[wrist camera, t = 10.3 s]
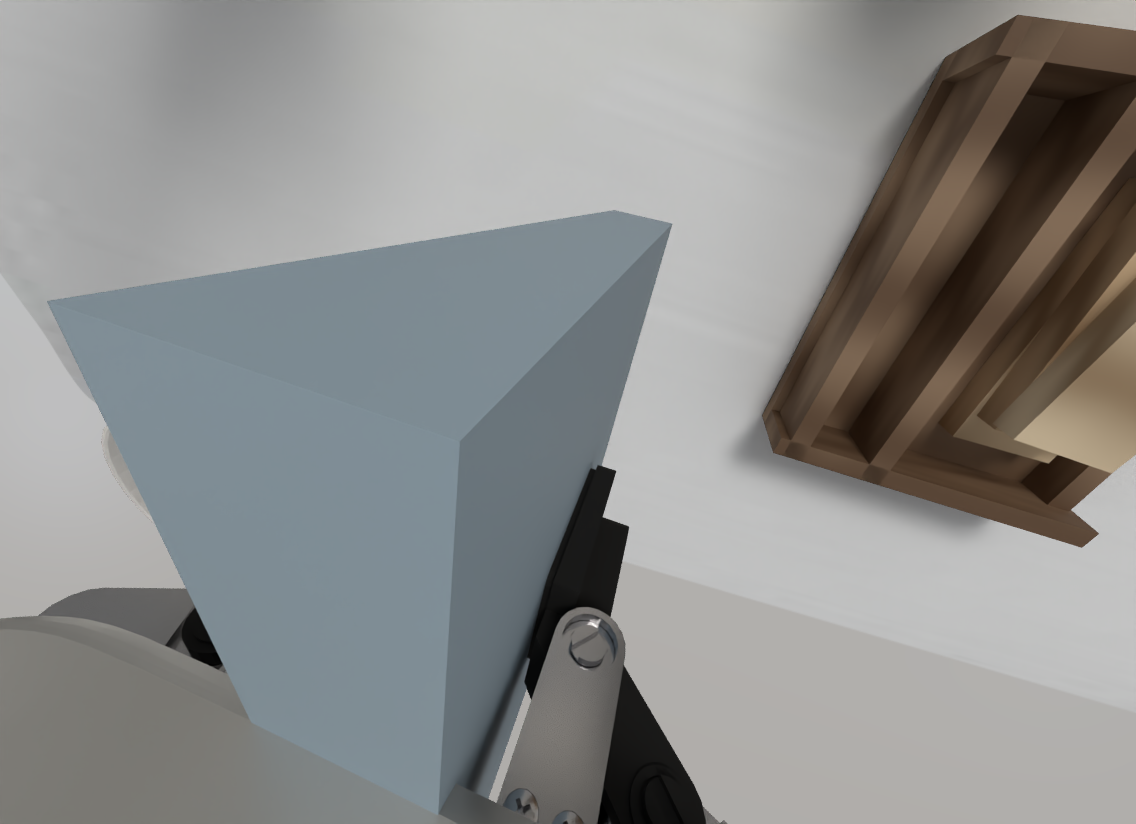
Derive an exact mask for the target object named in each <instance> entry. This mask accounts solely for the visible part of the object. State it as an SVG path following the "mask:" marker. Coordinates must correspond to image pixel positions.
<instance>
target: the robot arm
mask: <svg viewBox="0 0 1136 824" xmlns="http://www.w3.org/2000/svg"><path fill="white" fill-rule="evenodd" d="M615 474H616V471H615V470H612V469H609V468H606V467H603V466H600V465H597V468H596V470H595V469H592V468H591V469H590V471H589V473H588V476H587V478H586V481H585V483H584V486H583V488H582V491H581V493H580V496H579V498H578V501H577V503H576V506H575V508H574V511H573V513H572V516H571V518H570V521H569V524H568V526H567V529H566V531H565V534H564V536H563V539H562V541H561V544H560V546H559V549H558V551H557V554H556V556H555V559H554V561H553V564H552V566H551V569H550V571H549V574H548V577H547V580H546V584H545V587H544V591H543V595H542V599H541V603H540V607H539V611H538V615H537V619H536V623H535V627H534V631H533V635H532V639H531V643H530V647H529V651H528V655H527V658H529V659H530V661H529V665H528V669H527V673H526V676H525V680H524V683H525V685H526V688H527V690H528V693H529V695H530V698H531V703H530V706H529V709H528V712H527V715H526V718H525V721H524V724H523V726H522V729H521V732H520V736H519V738H518V741H517V744H516V747H515V750H514V753H513V756H512V759H511V762H510V765H509V768H508V771H507V774H506V777H505V780H504V783H503V785H502V788H501V792H500V795H499V797H498V800H497V803H495V802H493V801H491V800H489V799H487V798H485V797H483V796H481V795H479V794H477V793H475V792H473V791H471V790H468V789H466V788H464V787H462V786H460V785H458V784H455V786H454V788H453V789H452V791H451V793H450V795H449V796H448V798H447V800H446V802H445V803H444V805H443V807H442V809H441V810H440V812H439V814H438V815H436V814H434V813H432V812H430V811H428V810H426V809H424V808H422V807H420V806H418V805H416V804H414V803H412V802H410V801H408V800H406V799H404V798H402V797H400V796H398V795H396V794H394V793H392V792H390V791H388V790H386V789H384V788H382V787H380V786H378V785H376V784H374V783H372V782H370V781H368V780H366V779H364V778H362V777H360V776H358V775H356V774H354V773H352V772H350V771H348V770H346V769H344V768H342V767H340V766H338V765H336V764H334V763H332V762H330V761H328V760H326V759H324V758H322V757H320V756H318V755H316V754H314V753H312V752H310V751H308V750H306V749H304V748H302V747H300V746H298V745H296V744H294V743H292V742H290V741H287V740H285V739H283V738H281V737H279V736H277V735H275V734H273V733H271V732H269V731H267V730H265V729H263V728H261V727H259V726H257V725H255V724H253V723H251V721H250V719H249V717H248V715H247V713H246V711H245V709H244V706H243V704H242V702H241V700H240V698H239V696H238V694H237V692H236V690H235V688H234V686H233V684H232V682H231V680H230V678H229V676H228V673H227V671H226V669H225V667H224V665H223V663H222V661H221V659H220V657H219V655H218V653H217V651H216V649H215V647H214V645H213V643H212V640H211V638H210V636H209V634H208V632H207V630H206V628H205V626H204V624H203V622H202V620H201V618H200V616H199V614H198V612H197V610H196V607H195V605H194V603H193V601H192V599H191V597H190V595H189V593H188V591H187V589H166V588H165V589H164V588H161V589H160V588H158V589H157V588H99V589H90V590H86V591H83V592H80V593H77V594H74V595H71V596H68V597H67V598H65V599H63V600H61V601H59V602H57V603H55V604H53V605H51V606H50V607H49V608H47V609H46V610H45V611H44V612H42V613H41V614H40V615H39V616H28V617H12V618H2V619H0V824H727V823H726V822H725V821H722V822H721V823H719V822H718V821H717V820H716V819H715V818H714V817H713V816H712V815H711V814H710V813H709V812H708V811H707V810H706V809H705V808H704V807H703V806H702V802H701V799H700V797H699V795H698V793H697V791H696V788H695V786H694V784H693V783H692V781H691V779H690V777H689V776H688V774H687V772H686V771H685V769H684V767H683V765H682V764H681V762H680V760H679V759H678V757H677V755H676V754H675V752H674V750H673V748H672V747H671V745H670V743H669V742H668V740H667V738H666V736H665V735H664V733H663V731H662V730H661V728H660V726H659V725H658V723H657V721H656V719H655V718H654V716H653V714H652V713H651V711H650V709H649V708H648V706H647V704H646V702H645V701H644V699H643V697H642V696H641V694H640V692H639V690H638V689H637V687H636V685H635V684H634V682H633V680H632V678H631V677H630V675H629V674H628V672H627V670H626V668H625V667H624V659H625V641H624V638H623V634H622V632H621V630H620V629H619V627H618V625H617V624H616V622H615V621H614V620H613V619H612V618H610V617H611V612H612V607H613V602H614V598H615V593H616V588H617V583H618V579H619V574H620V569H621V564H622V560H623V555H624V550H625V545H626V541H627V536H628V531H629V526H626V525H623V524H620V523H617V522H615V521H612V520H609V519H606V518H603V514H604V510H605V507H606V504H607V500H608V497H609V494H610V490H611V487H612V484H613V480H614V477H615Z"/></svg>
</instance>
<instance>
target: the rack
mask: <svg viewBox="0 0 1136 824" xmlns="http://www.w3.org/2000/svg"><path fill="white" fill-rule="evenodd" d="M1129 178H1136V31H1133V30H1126V29H1118V28H1111V27H1104V26H1096V25H1089V24H1082V23H1074V22H1067V21H1059V20H1052V19H1045V18H1037V17H1030V16H1022V15H1017V16H1015V17H1013V18H1012V19H1010V20H1008V21H1007V22H1005V23H1003V24H1001V25H1000V26H998V27H996V28H995V29H993V30H991V31H989V32H988V33H986V34H984V35H983V36H981V37H979V38H977V39H976V40H974V41H972V42H971V43H969V44H967V45H965V46H964V47H962V48H960V49H959V50H957V51H955V52H953V53H952V54H950V55H948V56H947V57H945V59H944V61H943V63H942V65H941V67H940V69H939V71H938V73H937V75H936V77H935V79H934V81H933V83H932V85H931V87H930V89H929V91H928V93H927V95H926V96H925V98H924V100H923V102H922V104H921V106H920V108H919V110H918V112H917V114H916V116H915V118H914V120H913V122H912V124H911V126H910V128H909V130H908V132H907V134H906V136H905V138H904V139H903V141H902V143H901V145H900V147H899V149H898V151H897V153H896V155H895V157H894V159H893V161H892V163H891V165H890V167H889V169H888V171H887V173H886V175H885V177H884V179H883V181H882V182H881V184H880V186H879V188H878V190H877V192H876V194H875V196H874V198H873V200H872V202H871V204H870V206H869V208H868V210H867V212H866V214H865V216H864V218H863V220H862V222H861V224H860V225H859V227H858V229H857V231H856V233H855V235H854V237H853V239H852V241H851V243H850V245H849V247H848V249H847V251H846V253H845V255H844V257H843V259H842V261H841V263H840V265H839V267H838V268H837V270H836V272H835V274H834V276H833V278H832V280H831V282H830V284H829V286H828V288H827V290H826V292H825V294H824V296H823V298H822V300H821V302H820V304H819V306H818V308H817V310H816V311H815V313H814V315H813V317H812V319H811V321H810V323H809V325H808V327H807V329H806V331H805V333H804V335H803V337H802V339H801V341H800V343H799V345H798V347H797V349H796V351H795V353H794V354H793V356H792V358H791V360H790V362H789V364H788V366H787V368H786V370H785V372H784V374H783V376H782V378H781V380H780V382H779V384H778V386H777V388H776V390H775V392H774V394H773V396H772V397H771V399H770V401H769V403H768V405H767V407H766V409H765V411H764V413H763V415H762V417H763V420H764V423H765V427H766V430H767V434H768V437H769V440H770V444H771V447H772V450H773V453H776V454H779V455H782V456H786V457H789V458H792V459H795V460H799V461H802V462H805V463H808V464H812V465H815V466H818V467H821V468H825V469H828V470H831V471H834V472H838V473H841V474H844V475H847V476H851V477H854V478H857V479H860V480H864V481H867V482H870V483H873V484H877V485H880V486H883V487H886V488H890V489H893V490H896V491H899V492H903V493H906V494H909V495H912V496H916V497H919V498H922V499H925V500H929V501H932V502H935V503H938V504H942V505H945V506H948V507H952V508H955V509H958V510H961V511H965V512H968V513H971V514H974V515H978V516H981V517H984V518H987V519H991V520H994V521H997V522H1000V523H1004V524H1007V525H1010V526H1013V527H1017V528H1020V529H1023V530H1026V531H1030V532H1033V533H1036V534H1039V535H1043V536H1046V537H1049V538H1052V539H1056V540H1059V541H1062V542H1065V543H1069V544H1072V545H1075V546H1078V547H1083V546H1085V545H1086V544H1087V543H1088V542H1089V541H1091V540H1092V539H1093V538H1094V537H1096V536H1097V535H1098V534H1099V533H1098V532H1097V531H1095V530H1094V529H1093V528H1092V527H1091V526H1089V525H1088V524H1087V523H1086V522H1085V521H1083V520H1082V519H1081V518H1080V517H1079V516H1077V515H1076V514H1075V513H1074V512H1072V511H1071V509H1072V508H1073V507H1075V506H1076V505H1077V504H1078V503H1079V502H1080V501H1081V500H1082V499H1084V498H1085V497H1086V496H1087V495H1088V494H1089V493H1090V492H1091V491H1093V490H1094V489H1095V488H1096V487H1097V486H1098V485H1099V484H1101V483H1102V482H1103V481H1104V480H1105V479H1106V478H1107V477H1108V476H1110V475H1111V474H1112V473H1109V472H1106V471H1103V470H1100V469H1097V468H1095V467H1092V466H1089V465H1086V464H1083V463H1080V462H1077V461H1074V460H1071V459H1069V458H1066V457H1063V456H1060V455H1057V456H1056V457H1055V458H1054V459H1053V460H1052V461H1051V462H1050V463H1045V462H1042V461H1038V460H1035V459H1031V458H1027V457H1024V456H1020V455H1017V454H1013V453H1010V452H1006V451H1003V450H999V449H996V448H992V447H989V446H985V445H982V444H978V443H974V442H971V441H967V440H964V439H960V438H957V437H953V436H952V435H951V434H950V433H948V432H947V431H946V430H945V429H944V428H943V427H942V426H941V425H940V424H939V423H938V422H939V421H940V420H941V419H942V417H943V416H944V415H945V414H946V412H947V411H948V410H949V408H950V407H951V406H952V405H953V403H954V402H955V401H956V399H957V398H958V397H959V396H960V394H961V393H962V392H963V390H964V389H965V388H966V387H967V385H968V384H969V383H970V382H971V380H972V379H973V378H974V376H975V375H976V374H977V373H978V371H979V370H980V369H981V367H982V366H983V365H984V364H985V362H986V361H987V360H988V359H989V357H990V356H991V355H992V353H993V352H994V351H995V350H996V348H997V347H998V346H999V344H1000V343H1001V342H1002V341H1003V339H1004V338H1005V337H1006V335H1007V334H1008V333H1009V332H1010V330H1011V329H1012V328H1013V327H1014V325H1015V324H1016V323H1017V321H1018V320H1019V319H1020V318H1021V316H1022V315H1023V314H1024V312H1025V311H1026V310H1027V309H1028V307H1029V306H1030V305H1031V304H1032V302H1033V301H1034V300H1035V298H1036V297H1037V296H1038V295H1039V293H1040V292H1041V291H1042V289H1043V288H1044V287H1045V286H1046V284H1047V283H1048V282H1049V280H1050V279H1051V278H1052V277H1053V275H1054V274H1055V273H1056V272H1057V270H1058V269H1059V268H1060V266H1061V265H1062V264H1063V263H1064V261H1065V260H1066V259H1067V257H1068V256H1069V255H1070V254H1071V252H1072V251H1073V250H1074V248H1075V247H1076V246H1077V245H1078V243H1079V242H1080V241H1081V240H1082V238H1083V237H1084V236H1085V234H1086V233H1087V232H1088V231H1089V229H1090V228H1091V227H1092V225H1093V224H1094V223H1095V222H1096V220H1097V219H1098V218H1099V217H1100V215H1101V214H1102V213H1103V211H1104V210H1105V209H1106V208H1107V206H1108V205H1109V204H1110V202H1111V201H1112V200H1113V199H1114V197H1115V196H1116V195H1117V193H1118V192H1119V191H1120V190H1121V188H1122V187H1123V186H1124V185H1125V183H1126V182H1127V181H1128V179H1129Z"/></svg>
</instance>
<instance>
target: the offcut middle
mask: <svg viewBox="0 0 1136 824" xmlns="http://www.w3.org/2000/svg"><path fill="white" fill-rule="evenodd" d="M1135 278H1136V203H1135V205H1134V206H1133V207H1132V209H1131V210H1130V211H1129V213H1128V214H1127V215H1126V217H1125V218H1124V219H1123V221H1122V222H1121V223H1120V225H1119V226H1118V227H1117V229H1116V230H1115V231H1114V233H1113V234H1112V235H1111V237H1110V238H1109V239H1108V241H1107V242H1106V243H1105V245H1104V246H1103V247H1102V249H1101V250H1100V251H1099V253H1098V254H1097V255H1096V257H1095V258H1094V259H1093V261H1092V262H1091V263H1090V265H1089V266H1088V267H1087V269H1086V270H1085V271H1084V273H1083V274H1082V275H1081V277H1080V278H1079V279H1078V281H1077V282H1076V283H1075V285H1074V286H1073V287H1072V289H1071V290H1070V291H1069V293H1068V294H1067V295H1066V297H1065V298H1064V299H1063V301H1062V302H1061V303H1060V305H1059V306H1058V307H1057V309H1056V310H1055V311H1054V313H1053V314H1052V315H1051V317H1050V318H1049V319H1048V321H1047V322H1046V324H1045V325H1044V326H1043V328H1042V329H1041V330H1040V332H1039V333H1038V334H1037V336H1036V337H1035V338H1034V340H1033V341H1032V342H1031V344H1030V345H1029V346H1028V348H1027V349H1026V350H1025V352H1024V353H1023V354H1022V356H1021V357H1020V358H1019V360H1018V361H1017V362H1016V364H1015V365H1014V366H1013V368H1012V369H1011V370H1010V372H1009V373H1008V374H1007V376H1006V377H1005V378H1004V380H1003V381H1002V382H1001V384H1000V385H999V386H998V388H997V389H996V390H995V392H994V393H993V394H992V396H991V397H990V398H989V400H988V401H987V402H986V404H985V405H984V406H983V408H982V409H981V410H980V412H979V413H978V414H977V416H978V417H979V418H980V419H982V420H983V421H984V422H986V423H987V424H988V425H989V426H991V427H992V428H993V429H995V430H998V431H1002V430H1000V429H999V428H998V427H996V426H995V425H994V424H992V423H993V422H994V421H995V420H996V419H997V418H998V417H999V416H1000V415H1001V414H1002V413H1003V412H1004V411H1005V410H1006V409H1007V408H1008V407H1009V406H1010V405H1011V404H1012V403H1013V402H1014V401H1015V400H1016V399H1017V398H1018V397H1019V396H1020V395H1021V394H1022V393H1023V392H1024V391H1025V390H1026V389H1027V388H1028V387H1029V386H1030V385H1031V384H1032V383H1033V382H1034V381H1035V380H1036V379H1037V378H1038V377H1039V376H1040V375H1041V374H1042V373H1043V372H1044V370H1045V369H1046V368H1047V367H1048V366H1049V365H1050V364H1051V363H1052V362H1053V361H1054V360H1055V359H1056V358H1057V357H1058V356H1059V355H1060V354H1061V353H1062V352H1063V351H1064V350H1065V349H1066V348H1067V347H1068V346H1069V345H1070V344H1071V343H1072V342H1073V341H1074V340H1075V339H1076V338H1077V337H1078V336H1079V335H1080V334H1081V333H1082V332H1083V331H1084V330H1085V329H1086V328H1087V327H1088V326H1089V325H1090V324H1091V323H1092V322H1093V321H1094V320H1095V319H1096V318H1097V317H1098V315H1099V314H1100V313H1101V312H1102V311H1103V310H1104V309H1105V308H1106V307H1107V306H1108V305H1109V304H1110V303H1111V302H1112V301H1113V300H1114V299H1115V298H1116V297H1117V296H1118V295H1119V294H1120V293H1121V292H1122V291H1123V290H1124V289H1125V288H1126V287H1127V286H1128V285H1129V284H1130V283H1131V282H1132V281H1133V280H1134V279H1135ZM1002 432H1003V431H1002Z"/></svg>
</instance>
